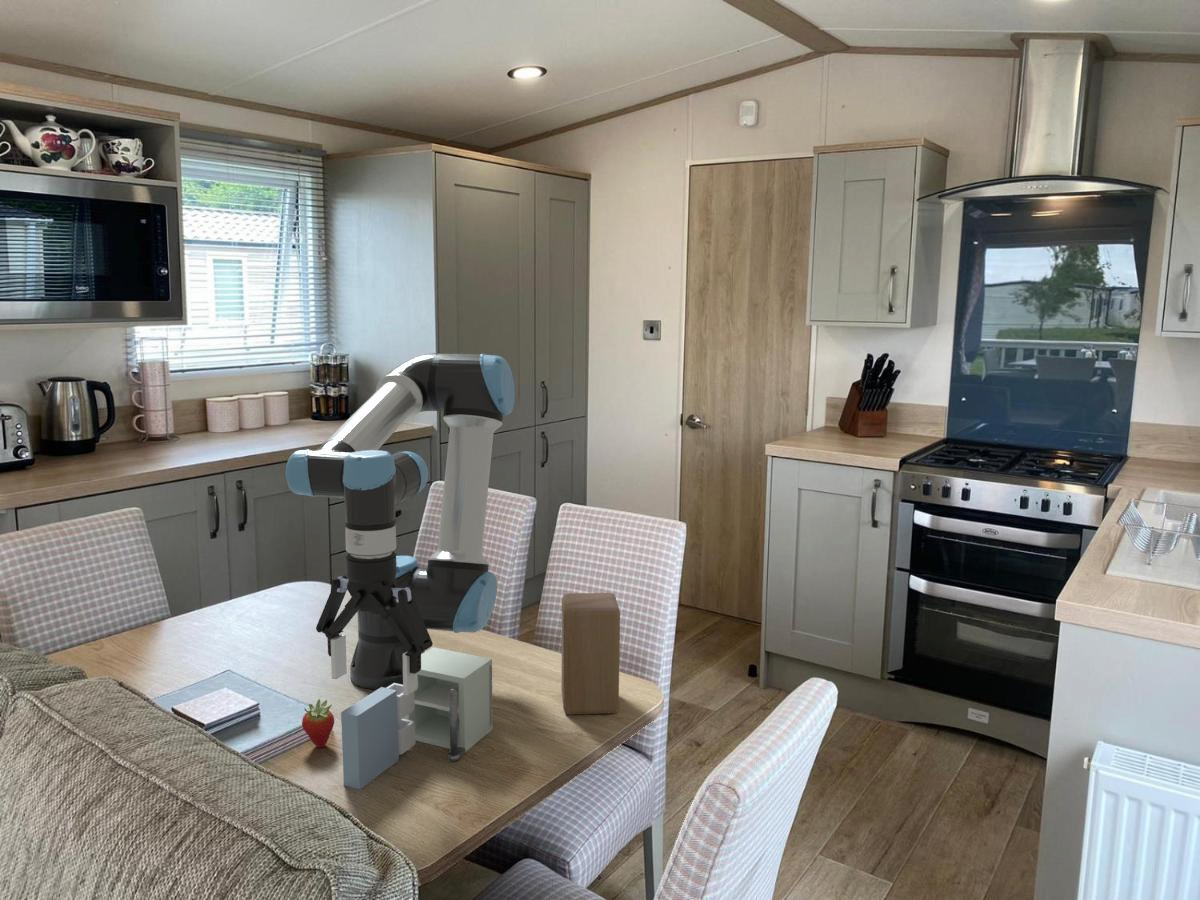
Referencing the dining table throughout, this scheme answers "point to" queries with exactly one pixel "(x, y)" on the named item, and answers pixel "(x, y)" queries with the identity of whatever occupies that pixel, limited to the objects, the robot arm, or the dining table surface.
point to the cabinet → (433, 697)
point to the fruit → (318, 723)
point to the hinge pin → (454, 729)
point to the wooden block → (590, 653)
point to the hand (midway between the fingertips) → (374, 683)
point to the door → (376, 734)
